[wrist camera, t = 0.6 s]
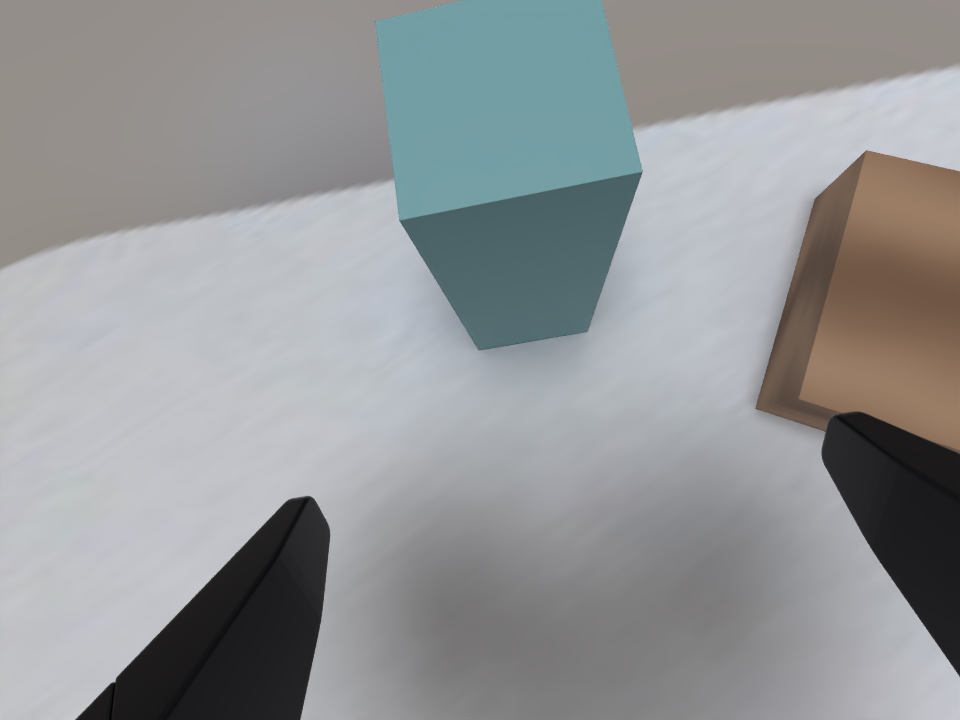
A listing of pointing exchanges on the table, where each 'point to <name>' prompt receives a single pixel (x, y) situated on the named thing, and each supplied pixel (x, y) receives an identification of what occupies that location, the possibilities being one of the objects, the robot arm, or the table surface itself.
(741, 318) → the table surface
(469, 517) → the table surface
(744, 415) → the table surface
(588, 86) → the teal pillar
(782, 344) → the walnut block
